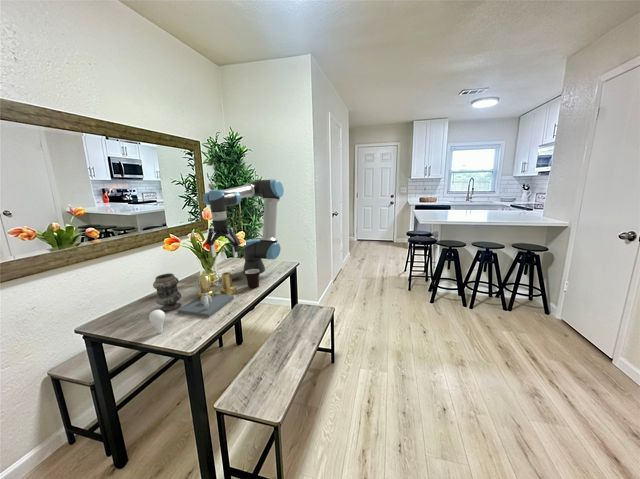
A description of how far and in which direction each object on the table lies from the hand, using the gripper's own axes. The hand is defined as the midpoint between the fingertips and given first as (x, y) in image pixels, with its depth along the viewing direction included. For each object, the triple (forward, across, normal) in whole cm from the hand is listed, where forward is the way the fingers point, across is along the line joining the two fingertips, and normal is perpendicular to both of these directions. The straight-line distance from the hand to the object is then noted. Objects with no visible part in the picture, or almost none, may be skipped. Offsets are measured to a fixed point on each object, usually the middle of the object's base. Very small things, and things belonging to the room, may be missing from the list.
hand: (225, 257), depth 152 cm
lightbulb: (+23, -10, -41) cm, 48 cm away
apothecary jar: (+23, -24, -19) cm, 38 cm away
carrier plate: (+23, -5, -14) cm, 27 cm away
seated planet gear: (+21, -10, -7) cm, 25 cm away
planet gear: (+23, -3, +3) cm, 24 cm away
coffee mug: (+24, +7, +16) cm, 30 cm away
